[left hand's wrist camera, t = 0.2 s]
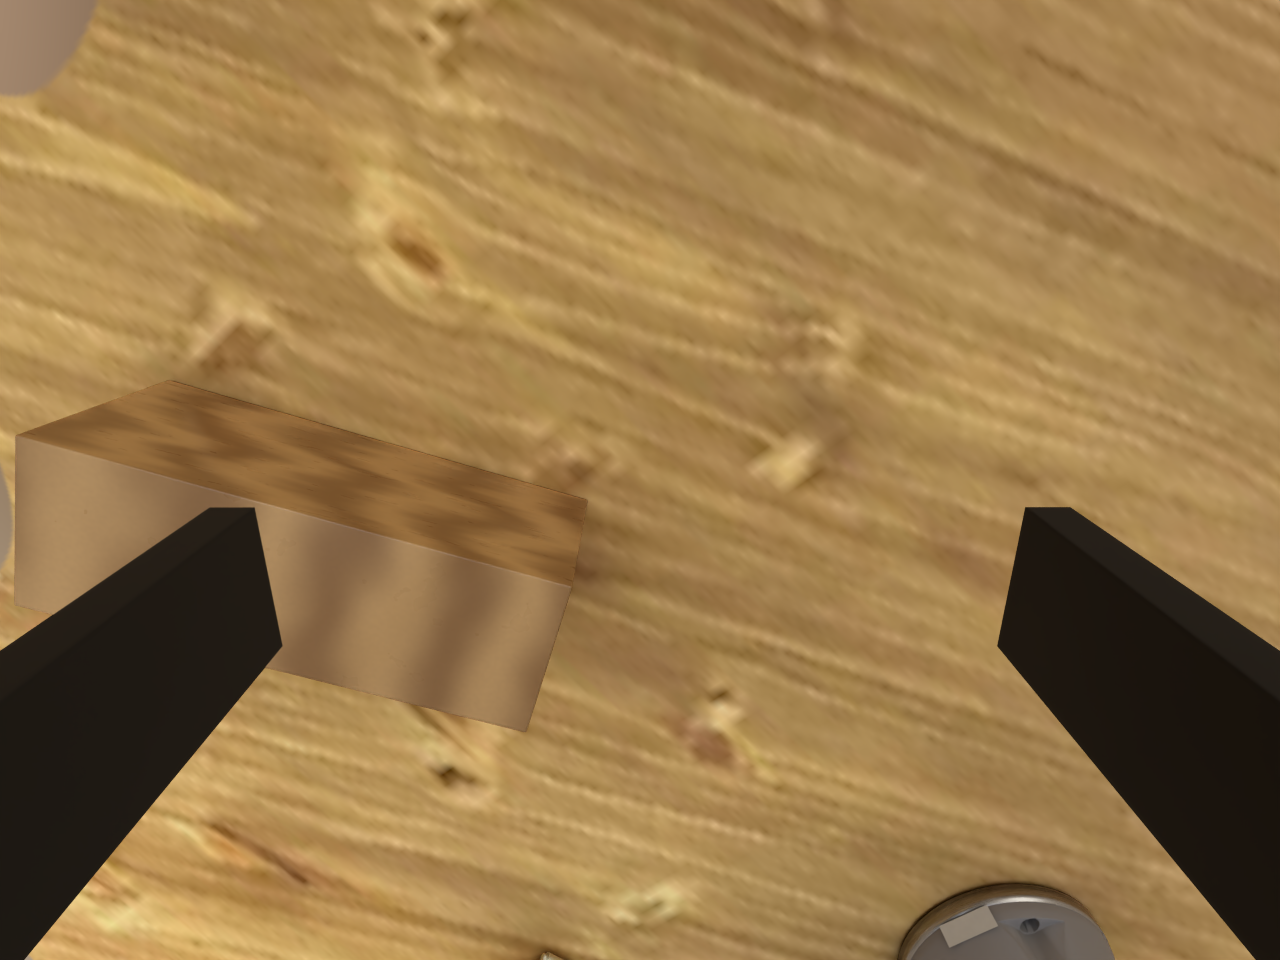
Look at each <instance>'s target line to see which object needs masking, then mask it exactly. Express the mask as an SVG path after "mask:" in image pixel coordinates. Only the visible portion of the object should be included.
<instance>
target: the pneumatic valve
mask: <svg viewBox="0 0 1280 960" xmlns="http://www.w3.org/2000/svg"><path fill="white" fill-rule="evenodd" d="M540 960H564V959H562V958H560V957H558V956H556V955H554V954H552V953H550V952H547V953H546V954H545V953H543V954H542V955H541V958H540Z"/></svg>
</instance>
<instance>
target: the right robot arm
mask: <svg viewBox="0 0 1280 960" xmlns="http://www.w3.org/2000/svg"><path fill="white" fill-rule="evenodd" d="M898 960H1115V958H1114V955H1113V953H1112V950H1111V948H1110V946H1109V944H1108V941H1107V939H1106V937H1105V935H1104V934H1103V932H1102V930H1101V929H1100V927H1099V926H1098V924H1097V923H1096V921H1095V919H1094V918H1093V916H1092V915H1091V914H1090V912H1089V911H1088V910H1087V909H1086V908H1085V907H1084V906H1083V905H1082V904H1080V903H1079V902H1078V901H1077V900H1075V899H1073V898H1072V897H1070V896H1068V895H1066V894H1064V893H1062V892H1059V891H1057V890H1054V889H1050V888H1047V887H1042V886H1037V885H1028V884H1004V885H995V886H990V887H984V888H980V889H976V890H973V891H970V892H967V893H964V894H961V895H959V896H956V897H954V898H952V899H950V900H948V901H946V902H944V903H942V904H941V905H939V906H937V907H936V908H934V909H933V910H932V911H930V912H929V913H928V914H926V915H925V916H924V917H923V918H922V919H921V920H920V921H919V922H918V923H917V924H916V925H915V926H914V927H913V928H912V930H911V931H910V932H909V934H908V935H907V937H906V938H905V940H904V942H903V944H902V947H901V949H900V952H899V957H898Z"/></svg>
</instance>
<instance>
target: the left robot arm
mask: <svg viewBox="0 0 1280 960" xmlns="http://www.w3.org/2000/svg"><path fill="white" fill-rule="evenodd" d="M282 646H283V645H282V640H281V635H280V630H279V625H278V620H277V615H276V610H275V605H274V600H273V596H272V591H271V586H270V581H269V576H268V571H267V566H266V561H265V556H264V551H263V546H262V541H261V536H260V531H259V526H258V521H257V516H256V512H255V507H209V508H208V509H207V510H205V511H204V512H202V513H201V514H199V515H198V516H196V517H195V518H193V519H192V520H190V521H189V522H188V523H186V524H185V525H183V526H182V527H180V528H179V529H177V530H176V531H174V532H173V533H172V534H170V535H169V536H167V537H166V538H164V539H163V540H161V541H160V542H158V543H157V544H155V545H154V546H153V547H151V548H150V549H148V550H147V551H145V552H144V553H142V554H141V555H139V556H138V557H137V558H135V559H134V560H132V561H131V562H129V563H128V564H126V565H125V566H123V567H122V568H120V569H119V570H118V571H116V572H115V573H113V574H112V575H110V576H109V577H107V578H106V579H104V580H103V581H101V582H100V583H99V584H97V585H96V586H94V587H93V588H91V589H90V590H88V591H87V592H85V593H84V594H83V595H81V596H80V597H78V598H77V599H75V600H74V601H72V602H71V603H69V604H68V605H66V606H65V607H64V608H62V609H61V610H59V611H58V612H56V613H55V614H53V615H52V616H50V617H49V618H48V619H46V620H45V621H43V622H42V623H40V624H39V625H37V626H36V627H34V628H33V629H31V630H30V631H29V632H27V633H26V634H24V635H23V636H21V637H20V638H18V639H17V640H15V641H14V642H12V643H11V644H10V645H8V646H7V647H5V648H4V649H2V650H1V651H0V960H24V959H25V958H26V957H27V956H28V955H29V953H30V952H31V951H32V950H33V948H34V947H35V946H36V945H37V944H38V942H39V941H40V940H41V939H42V938H43V936H44V935H45V934H46V933H47V932H48V930H49V929H50V928H51V927H52V925H53V924H54V923H55V922H56V921H57V919H58V918H59V917H60V916H61V915H62V913H63V912H64V911H65V910H66V908H67V907H68V906H69V905H70V904H71V902H72V901H73V900H74V899H75V898H76V896H77V895H78V894H79V893H80V891H81V890H82V889H83V888H84V887H85V885H86V884H87V883H88V882H89V881H90V879H91V878H92V877H93V876H94V874H95V873H96V872H97V871H98V870H99V868H100V867H101V866H102V865H103V864H104V862H105V861H106V860H107V859H108V857H109V856H110V855H111V854H112V853H113V851H114V850H115V849H116V848H117V847H118V845H119V844H120V843H121V842H122V840H123V839H124V838H125V837H126V836H127V834H128V833H129V832H130V831H131V830H132V828H133V827H134V826H135V825H136V823H137V822H138V821H139V820H140V819H141V817H142V816H143V815H144V814H145V813H146V811H147V810H148V809H149V808H150V806H151V805H152V804H153V803H154V802H155V800H156V799H157V798H158V797H159V796H160V794H161V793H162V792H163V791H164V790H165V788H166V787H167V786H168V785H169V783H170V782H171V781H172V780H173V779H174V777H175V776H176V775H177V774H178V773H179V771H180V770H181V769H182V768H183V766H184V765H185V764H186V763H187V762H188V760H189V759H190V758H191V757H192V756H193V754H194V753H195V752H196V751H197V749H198V748H199V747H200V746H201V745H202V743H203V742H204V741H205V740H206V739H207V737H208V736H209V735H210V734H211V732H212V731H213V730H214V729H215V728H216V726H217V725H218V724H219V723H220V722H221V720H222V719H223V718H224V717H225V715H226V714H227V713H228V712H229V711H230V709H231V708H232V707H233V706H234V705H235V703H236V702H237V701H238V700H239V698H240V697H241V696H242V695H243V694H244V692H245V691H246V690H247V689H248V688H249V686H250V685H251V684H252V683H253V681H254V680H255V679H256V678H257V677H258V675H259V674H260V673H261V672H262V671H263V669H264V668H265V667H266V666H267V664H268V663H269V662H270V661H271V660H272V658H273V657H274V656H275V655H276V654H277V652H278V651H279V650H280V649H281V648H282ZM997 646H998V648H999V649H1000V650H1001V651H1002V652H1003V654H1004V655H1005V656H1006V657H1007V658H1008V660H1009V661H1010V662H1011V663H1012V664H1013V666H1014V667H1015V668H1016V669H1017V671H1018V672H1019V673H1020V674H1021V675H1022V677H1023V678H1024V679H1025V680H1026V681H1027V683H1028V684H1029V685H1030V686H1031V688H1032V689H1033V690H1034V691H1035V692H1036V694H1037V695H1038V696H1039V697H1040V698H1041V700H1042V701H1043V702H1044V703H1045V705H1046V706H1047V707H1048V708H1049V709H1050V711H1051V712H1052V713H1053V714H1054V715H1055V717H1056V718H1057V719H1058V720H1059V722H1060V723H1061V724H1062V725H1063V726H1064V728H1065V729H1066V730H1067V731H1068V732H1069V734H1070V735H1071V736H1072V737H1073V739H1074V740H1075V741H1076V742H1077V743H1078V745H1079V746H1080V747H1081V748H1082V749H1083V751H1084V752H1085V753H1086V754H1087V756H1088V757H1089V758H1090V759H1091V760H1092V762H1093V763H1094V764H1095V765H1096V766H1097V768H1098V769H1099V770H1100V771H1101V773H1102V774H1103V775H1104V776H1105V777H1106V779H1107V780H1108V781H1109V782H1110V783H1111V785H1112V786H1113V787H1114V788H1115V790H1116V791H1117V792H1118V793H1119V794H1120V796H1121V797H1122V798H1123V799H1124V800H1125V802H1126V803H1127V804H1128V805H1129V806H1130V808H1131V809H1132V810H1133V811H1134V813H1135V814H1136V815H1137V816H1138V817H1139V819H1140V820H1141V821H1142V822H1143V823H1144V825H1145V826H1146V827H1147V828H1148V830H1149V831H1150V832H1151V833H1152V834H1153V836H1154V837H1155V838H1156V839H1157V840H1158V842H1159V843H1160V844H1161V845H1162V847H1163V848H1164V849H1165V850H1166V851H1167V853H1168V854H1169V855H1170V856H1171V857H1172V859H1173V860H1174V861H1175V862H1176V864H1177V865H1178V866H1179V867H1180V868H1181V870H1182V871H1183V872H1184V873H1185V874H1186V876H1187V877H1188V878H1189V879H1190V881H1191V882H1192V883H1193V884H1194V885H1195V887H1196V888H1197V889H1198V890H1199V891H1200V893H1201V894H1202V895H1203V896H1204V898H1205V899H1206V900H1207V901H1208V902H1209V904H1210V905H1211V906H1212V907H1213V908H1214V910H1215V911H1216V912H1217V913H1218V915H1219V916H1220V917H1221V918H1222V919H1223V921H1224V922H1225V923H1226V924H1227V925H1228V927H1229V928H1230V929H1231V930H1232V932H1233V933H1234V934H1235V935H1236V936H1237V938H1238V939H1239V940H1240V941H1241V942H1242V944H1243V945H1244V946H1245V947H1246V948H1247V950H1248V951H1249V952H1250V953H1251V955H1252V956H1253V957H1254V958H1255V959H1256V960H1280V651H1279V650H1278V649H1276V648H1275V647H1273V646H1272V645H1270V644H1269V643H1268V642H1266V641H1265V640H1263V639H1262V638H1260V637H1259V636H1257V635H1256V634H1254V633H1253V632H1251V631H1250V630H1249V629H1247V628H1246V627H1244V626H1243V625H1241V624H1240V623H1238V622H1237V621H1235V620H1234V619H1232V618H1231V617H1230V616H1228V615H1227V614H1225V613H1224V612H1222V611H1221V610H1219V609H1218V608H1216V607H1215V606H1214V605H1212V604H1211V603H1209V602H1208V601H1206V600H1205V599H1203V598H1202V597H1200V596H1199V595H1197V594H1196V593H1195V592H1193V591H1192V590H1190V589H1189V588H1187V587H1186V586H1184V585H1183V584H1181V583H1180V582H1179V581H1177V580H1176V579H1174V578H1173V577H1171V576H1170V575H1168V574H1167V573H1165V572H1164V571H1162V570H1161V569H1160V568H1158V567H1157V566H1155V565H1154V564H1152V563H1151V562H1149V561H1148V560H1146V559H1145V558H1143V557H1142V556H1141V555H1139V554H1138V553H1136V552H1135V551H1133V550H1132V549H1130V548H1129V547H1127V546H1126V545H1125V544H1123V543H1122V542H1120V541H1119V540H1117V539H1116V538H1114V537H1113V536H1111V535H1110V534H1108V533H1107V532H1106V531H1104V530H1103V529H1101V528H1100V527H1098V526H1097V525H1095V524H1094V523H1092V522H1091V521H1090V520H1088V519H1087V518H1085V517H1084V516H1082V515H1081V514H1079V513H1078V512H1076V511H1075V510H1073V509H1072V508H1071V507H1025V512H1024V516H1023V521H1022V526H1021V531H1020V536H1019V541H1018V546H1017V551H1016V556H1015V561H1014V566H1013V571H1012V576H1011V581H1010V586H1009V591H1008V596H1007V600H1006V605H1005V610H1004V615H1003V620H1002V625H1001V630H1000V635H999V640H998V645H997Z"/></svg>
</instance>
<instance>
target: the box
mask: <svg viewBox="0 0 1280 960" xmlns="http://www.w3.org/2000/svg"><path fill="white" fill-rule="evenodd" d="M209 507H255V512H256V516H257V521H258V526H259V531H260V536H261V541H262V546H263V551H264V556H265V561H266V566H267V571H268V576H269V581H270V586H271V591H272V596H273V600H274V605H275V610H276V615H277V620H278V625H279V630H280V635H281V640H282V645H283V646H282V648H281V649H280V650H279V651H278V652H277V654H276V655H275V656H274V657H273V658H272V660H271V661H270V662H269V663H268V664H267V666H266V667H265V668H269V669H273V670H277V671H281V672H285V673H289V674H293V675H297V676H301V677H305V678H309V679H313V680H317V681H321V682H325V683H329V684H333V685H337V686H341V687H346V688H350V689H354V690H358V691H362V692H366V693H370V694H374V695H378V696H382V697H386V698H390V699H394V700H398V701H402V702H406V703H410V704H414V705H418V706H422V707H426V708H430V709H434V710H438V711H442V712H446V713H450V714H454V715H458V716H462V717H466V718H470V719H474V720H478V721H482V722H486V723H490V724H494V725H498V726H502V727H506V728H510V729H514V730H518V731H522V732H526V731H527V729H528V726H529V722H530V719H531V716H532V713H533V710H534V706H535V703H536V700H537V697H538V694H539V691H540V687H541V684H542V681H543V678H544V675H545V672H546V668H547V665H548V662H549V659H550V656H551V653H552V649H553V646H554V643H555V640H556V637H557V634H558V630H559V627H560V624H561V621H562V618H563V615H564V611H565V608H566V605H567V602H568V599H569V596H570V592H571V589H572V585H573V579H574V574H575V568H576V563H577V557H578V551H579V546H580V540H581V535H582V529H583V524H584V518H585V513H586V507H587V500H585V499H582V498H578V497H575V496H571V495H568V494H564V493H561V492H558V491H554V490H551V489H547V488H544V487H540V486H537V485H533V484H530V483H526V482H523V481H519V480H516V479H512V478H509V477H505V476H502V475H498V474H495V473H491V472H488V471H484V470H481V469H477V468H474V467H470V466H467V465H463V464H460V463H456V462H453V461H449V460H446V459H442V458H439V457H435V456H432V455H428V454H425V453H421V452H418V451H414V450H411V449H407V448H404V447H400V446H397V445H394V444H390V443H387V442H383V441H380V440H376V439H373V438H369V437H366V436H362V435H359V434H355V433H352V432H348V431H345V430H341V429H338V428H334V427H331V426H327V425H324V424H320V423H317V422H313V421H310V420H306V419H303V418H299V417H296V416H292V415H289V414H285V413H282V412H278V411H275V410H271V409H268V408H264V407H261V406H257V405H254V404H250V403H247V402H243V401H240V400H236V399H233V398H230V397H226V396H223V395H219V394H216V393H212V392H209V391H205V390H202V389H198V388H195V387H191V386H188V385H184V384H181V383H177V382H174V381H170V380H168V381H165V382H162V383H159V384H157V385H154V386H151V387H148V388H145V389H143V390H140V391H137V392H134V393H132V394H129V395H126V396H123V397H121V398H118V399H115V400H112V401H110V402H107V403H104V404H101V405H98V406H96V407H93V408H90V409H87V410H85V411H82V412H79V413H76V414H74V415H71V416H68V417H65V418H63V419H60V420H57V421H54V422H51V423H49V424H46V425H43V426H40V427H38V428H35V429H32V430H29V431H27V432H24V433H21V434H18V435H16V451H15V605H16V606H20V607H24V608H28V609H32V610H36V611H40V612H44V613H48V614H52V615H53V614H55V613H56V612H58V611H59V610H61V609H62V608H64V607H65V606H66V605H68V604H69V603H71V602H72V601H74V600H75V599H77V598H78V597H80V596H81V595H83V594H84V593H85V592H87V591H88V590H90V589H91V588H93V587H94V586H96V585H97V584H99V583H100V582H101V581H103V580H104V579H106V578H107V577H109V576H110V575H112V574H113V573H115V572H116V571H118V570H119V569H120V568H122V567H123V566H125V565H126V564H128V563H129V562H131V561H132V560H134V559H135V558H137V557H138V556H139V555H141V554H142V553H144V552H145V551H147V550H148V549H150V548H151V547H153V546H154V545H155V544H157V543H158V542H160V541H161V540H163V539H164V538H166V537H167V536H169V535H170V534H172V533H173V532H174V531H176V530H177V529H179V528H180V527H182V526H183V525H185V524H186V523H188V522H189V521H190V520H192V519H193V518H195V517H196V516H198V515H199V514H201V513H202V512H204V511H205V510H207V509H208V508H209Z"/></svg>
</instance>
